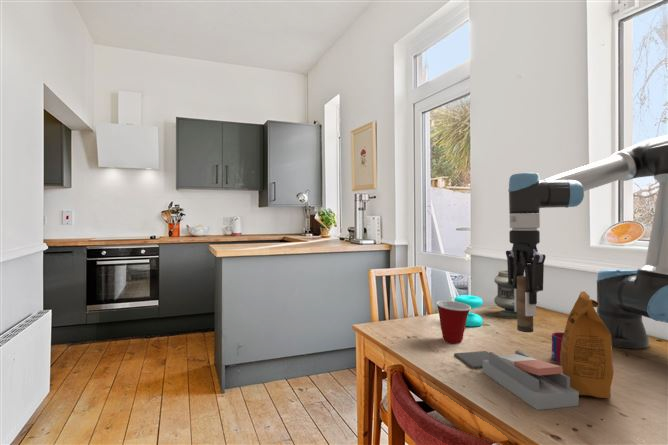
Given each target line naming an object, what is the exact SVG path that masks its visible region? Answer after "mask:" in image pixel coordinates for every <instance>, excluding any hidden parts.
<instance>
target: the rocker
mask: <svg viewBox="0 0 668 445" xmlns="http://www.w3.org/2000/svg"><path fill="white" fill-rule="evenodd" d="M497 355H498V356H499V357H501V358H503V359H504V360H506V361H508V362H509V363H511V364H513V365H514V366H516V367H518V368H519V369H521V370H523V371H526V372H529V373H532V374H535V375H538V376H539V375H550V374H562V373H563V369H562V366H560V365H558V364H554V363H550V362H546V361H543V360H540V359H536V358H534V357H532V358H529V357H526V356H522V355H518V354H516V353H507V354H505V353H504V354H497ZM533 358H534V359H533Z"/></svg>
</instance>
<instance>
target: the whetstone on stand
mask: <svg viewBox="0 0 668 445" xmlns="http://www.w3.org/2000/svg"><path fill="white" fill-rule="evenodd" d="M488 353H489V360H483V368H482V373H484V374H485V375H487V377H488V376H489V378H491V379H493V380H494V381H495V382H497V383H498V384H500V385H501V386H503V387H504V388H505V389H506V390H508V391H509V392H511V393H513V394H514V395H515V396H517V398H518V399H520V400H522V401H524V402H525V403H527V404H528V405H529V406H530V407H532V408H534V410H537V411H541V410H551V409H552V410H553V409H558V408H559V409H560V408H570V407H577V406H579V403H580V399H579V398H580V397H579V396H580V395H579V391H577V390H575V389H573V388H571V387H570V377H569V376H567V375H565V374H563V373H562V374H550V375H539V376H538V375H535V374H532V373H529V372H526V371H523V370H521V369H519V368H518V367H516V366H514V365H513V364H511V363H509V362H508V361H506V360H504V359H503V358H501V357H499V356H498V355H499V354H496V353H494V352H492V351H488ZM515 354H518V355H522V356H526V357H529V358H533V359H535V357H532V356H530V355H529V354H527V353H524V352H523V351H522V350H519V349H515Z"/></svg>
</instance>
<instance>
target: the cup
mask: <svg viewBox="0 0 668 445" xmlns="http://www.w3.org/2000/svg"><path fill="white" fill-rule="evenodd" d="M563 334H564V332H560V331H559V332H558V331H557V332H552V333H551V359H552V360H553V361H555V362H557V363H559V364H560V354H561V342H562V338H563Z"/></svg>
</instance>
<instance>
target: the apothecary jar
mask: <svg viewBox="0 0 668 445" xmlns="http://www.w3.org/2000/svg"><path fill="white" fill-rule="evenodd" d="M497 274H498V275H495V277H494V283H495V284H496V285H497V295H496V296H495V297H494V300H493V302H494V303H495V305H496V306H498V308H501V309H503V310H500V311H498V312H497V313H496V315H497V316H498V317H502V318H507V319H517V312H515V305H514V288H513V287H512V285H509V284H508V269H500V270H498V273H497Z"/></svg>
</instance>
